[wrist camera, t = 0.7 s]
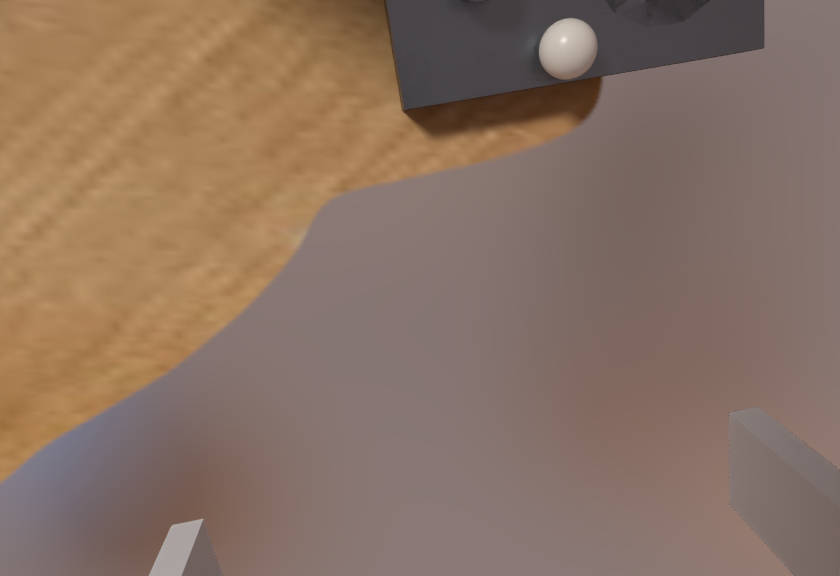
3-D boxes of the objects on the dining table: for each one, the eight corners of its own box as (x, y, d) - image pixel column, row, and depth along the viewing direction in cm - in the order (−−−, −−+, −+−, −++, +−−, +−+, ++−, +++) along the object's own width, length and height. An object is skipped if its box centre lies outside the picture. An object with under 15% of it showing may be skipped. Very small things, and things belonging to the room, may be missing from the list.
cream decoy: (529, 28, 34) (545, 18, 31) (583, 18, 35) (604, 8, 31) (535, 85, 35) (551, 82, 32) (587, 76, 35) (608, 72, 32)
